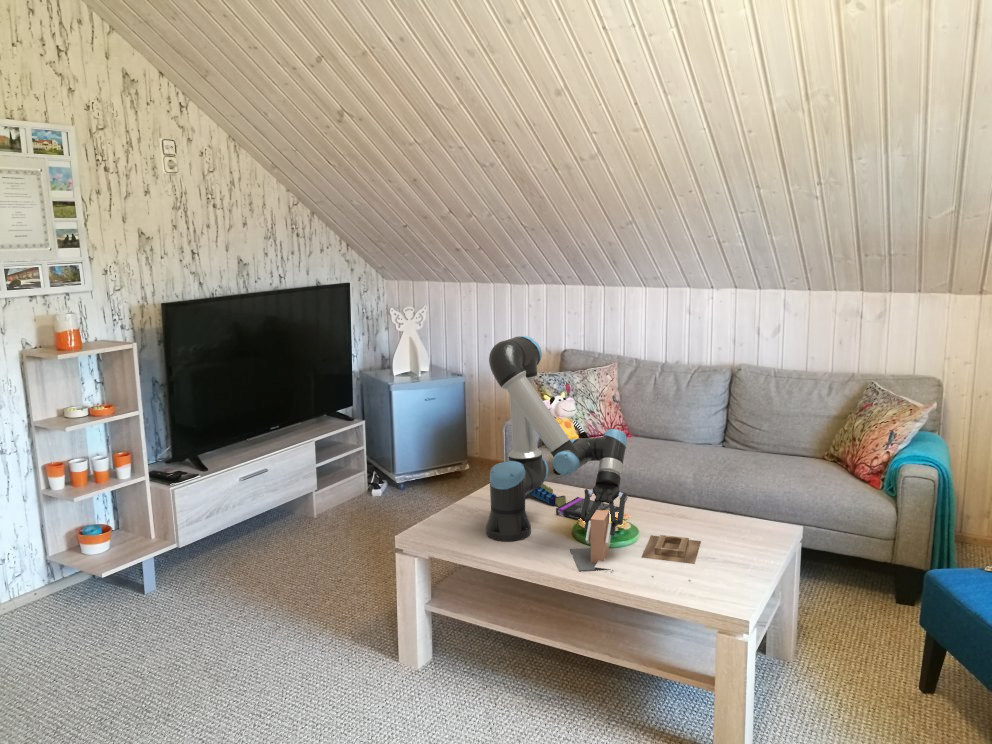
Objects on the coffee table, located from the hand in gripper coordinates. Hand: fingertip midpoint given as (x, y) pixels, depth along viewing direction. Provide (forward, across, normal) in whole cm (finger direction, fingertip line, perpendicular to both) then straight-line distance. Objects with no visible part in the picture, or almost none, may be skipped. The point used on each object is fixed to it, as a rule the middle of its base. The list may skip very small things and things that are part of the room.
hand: (597, 543), depth 244 cm
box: (-22, +12, -33) cm, 42 cm away
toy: (-29, +32, -40) cm, 59 cm away
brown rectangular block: (+2, 0, -7) cm, 7 cm away
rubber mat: (+2, 0, -7) cm, 8 cm away
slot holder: (-5, -20, -15) cm, 26 cm away
